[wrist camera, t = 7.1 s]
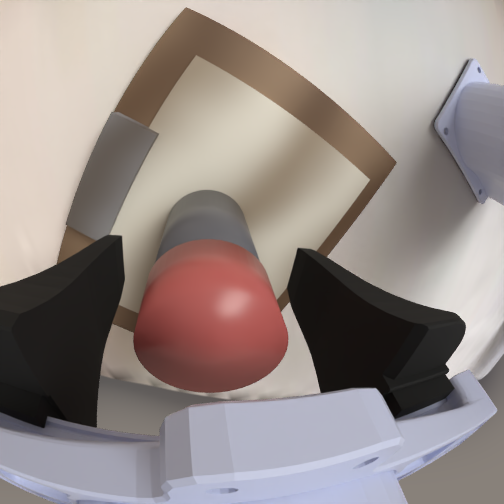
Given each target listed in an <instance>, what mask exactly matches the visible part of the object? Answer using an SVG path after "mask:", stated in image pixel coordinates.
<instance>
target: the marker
mask: <svg viewBox="0 0 504 504" xmlns="http://www.w3.org/2000/svg"><path fill="white" fill-rule="evenodd" d="M133 343H134V349H135V352H136V355H137V357H138V359H139V361H140V362H141V364H142V365H143V366H144V368H145V369H146V370H148V371H149V372H150V373H151V374H152V375H153V376H155V377H156V378H158V379H159V380H161V381H163V382H165V383H167V384H169V385H171V386H174V387H177V388H180V389H184V390H188V391H194V392H205V393H214V392H225V391H231V390H236V389H239V388H243V387H245V386H248V385H251V384H253V383H255V382H257V381H259V380H260V379H262V378H264V377H265V376H267V375H268V374H269V373H271V372H272V371H273V370H274V369H275V368H276V367H277V366H278V364H279V363H280V362H281V360H282V359H283V357H284V355H285V353H286V350H287V346H288V332H287V328H286V325H285V323H284V320H283V317H282V314H281V311H280V308H279V306H278V303H277V300H276V297H275V294H274V291H273V289H272V286H271V283H270V280H269V277H268V275H267V272H266V270H265V268H264V267H263V265H262V263H261V262H260V260H259V257H258V254H257V252H256V249H255V246H254V243H253V240H252V237H251V234H250V231H249V228H248V225H247V222H246V219H245V216H244V214H243V211H242V209H241V208H240V206H239V205H238V204H237V202H236V201H235V200H234V199H232V198H231V197H230V196H228V195H226V194H224V193H222V192H219V191H215V190H199V191H195V192H192V193H190V194H187V195H186V196H184V197H183V198H181V199H180V200H179V201H178V202H177V203H176V204H175V205H174V207H173V208H172V210H171V212H170V214H169V217H168V220H167V223H166V226H165V230H164V233H163V236H162V240H161V243H160V247H159V250H158V254H157V257H156V261H155V264H154V266H153V267H152V269H151V271H150V273H149V276H148V279H147V283H146V287H145V290H144V294H143V298H142V302H141V306H140V310H139V314H138V319H137V323H136V327H135V332H134V340H133Z"/></svg>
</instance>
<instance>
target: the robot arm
mask: <svg viewBox="0 0 504 504" xmlns="http://www.w3.org/2000/svg"><path fill="white" fill-rule="evenodd" d="M434 126H435V129H436V131H437V133H438V134H439V136H440V137H441V138H442V140H443V141H444V143H445V144H446V146H447V148H448V149H449V151H450V152H451V154H452V155H453V157H454V159H455V160H456V162H457V164H458V165H459V167H460V169H461V170H462V172H463V174H464V176H465V177H466V179H467V181H468V183H469V185H470V187H471V188H472V190H473V192H474V194H475V196H476V198H477V200H478V202H479V203H481V204H483V203H484V202H485V201H486V199H487V198H488V197H490V198H492V199H493V200H495V201H497V202H499V203H500V204H502V205H504V85H498V84H492V83H490V82H489V81H488V79H487V77H486V75H485V73H484V71H483V70H482V68H481V66H480V64H479V63H478V61H477V60H476V59H470V60H469V62H468V64H467V66H466V68H465V70H464V71H463V73H462V75H461V77H460V79H459V81H458V82H457V84H456V86H455V88H454V90H453V91H452V93H451V95H450V97H449V98H448V100H447V102H446V104H445V105H444V107H443V109H442V110H441V112H440V114H439V115H438V117H437V119H436V120H435V124H434ZM444 129H445V132H444ZM124 282H125V271H124V259H123V242H122V235H106V236H104V237H102V238H100V239H99V240H97V241H95V242H94V243H92V244H90V245H89V246H87V247H86V248H84V249H82V250H81V251H79V252H78V253H76V254H74V255H72V256H71V257H69V258H67V259H65V260H64V261H62V262H60V263H59V264H57V265H55V266H53V267H51V268H49V269H47V270H44V271H42V272H40V273H38V274H36V275H33V276H30V277H28V278H25V279H23V280H20V281H17V282H14V283H11V284H8V285H4V286H1V287H0V478H2V479H3V480H5V481H7V482H9V483H11V484H13V485H15V486H17V487H19V488H21V489H23V490H26V491H28V492H30V493H32V494H35V495H37V496H39V497H42V498H44V499H47V500H49V501H52V502H55V503H57V504H408V503H407V501H406V499H405V497H404V494H403V492H402V489H401V487H400V485H399V482H398V481H399V480H401V479H403V478H405V477H407V476H408V475H410V474H412V473H414V472H416V471H418V470H419V469H421V468H423V467H425V466H426V465H428V464H430V463H431V462H433V461H435V460H436V459H438V458H440V457H441V456H443V455H444V454H446V453H447V452H449V451H450V450H452V449H453V448H455V447H456V446H458V445H459V444H461V443H462V442H463V441H464V440H466V439H467V438H468V437H469V436H471V435H472V434H473V433H474V432H475V431H476V430H477V429H479V428H480V427H481V426H482V425H483V424H484V423H485V422H486V421H488V419H490V418H491V417H492V416H493V415H494V414H495V413H496V412H497V409H496V407H495V406H494V404H493V403H492V401H491V400H490V398H489V397H488V395H487V394H486V392H485V391H484V389H483V388H482V386H481V385H480V384H479V382H478V381H477V379H476V378H475V377H474V375H473V374H472V372H471V371H470V370H466V371H464V372H461V373H459V374H457V375H455V376H453V377H452V378H451V379H450V380H449V379H448V378H447V376H446V375H445V374H447V373H448V372H449V369H448V367H447V366H446V362H447V361H448V360H449V358H450V357H451V356H452V354H453V353H454V351H455V350H456V349H457V347H458V346H459V344H460V343H461V341H462V339H463V337H464V334H465V330H466V325H465V322H464V321H463V320H462V319H461V318H460V317H459V316H458V315H457V314H455V313H453V312H449V311H444V310H439V309H434V308H430V307H427V306H423V305H420V304H417V303H414V302H411V301H408V300H405V299H403V298H400V297H398V296H395V295H393V294H390V293H388V292H386V291H384V290H382V289H380V288H378V287H375V286H373V285H372V284H370V283H368V282H366V281H364V280H363V279H361V278H359V277H357V276H356V275H354V274H352V273H351V272H349V271H347V270H346V269H344V268H343V267H341V266H340V265H338V264H336V263H335V262H333V261H332V260H330V259H329V258H327V257H325V256H324V255H322V254H320V253H319V252H317V251H315V250H313V249H307V248H297V252H296V256H295V260H294V263H293V267H292V271H291V274H290V278H289V282H288V285H287V290H288V295H289V299H290V303H291V307H292V309H293V312H294V314H295V316H296V319H297V321H298V324H299V326H300V328H301V331H302V333H303V335H304V338H305V340H306V342H307V345H308V347H309V350H310V353H311V356H312V359H313V363H314V367H315V370H316V374H317V378H318V383H319V387H320V392H321V393H319V394H312V395H305V396H296V397H287V398H276V399H262V400H244V401H220V402H213V403H205V404H195V405H190V406H188V407H186V408H183V409H181V410H179V411H176V412H174V413H171V414H170V415H168V416H167V417H165V419H164V421H163V423H162V425H161V428H160V436H151V435H142V434H133V433H124V432H118V431H112V430H106V429H100V428H97V400H98V388H99V379H100V371H101V364H102V358H103V353H104V348H105V344H106V340H107V337H108V334H109V331H110V328H111V325H112V322H113V320H114V317H115V314H116V311H117V308H118V305H119V303H120V300H121V296H122V291H123V287H124Z"/></svg>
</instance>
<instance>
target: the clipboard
mask: <svg viewBox="0 0 504 504" xmlns="http://www.w3.org/2000/svg"><path fill="white" fill-rule="evenodd" d="M396 163H397V162H396V161H395V160H394V159H393V158H392V157H391V156H390V155H389V154H388V152H387V151H386V150H385V149H384V148H383V147H382V146H381V145H380V144H379V143H378V142H377V141H376V140H375V139H374V138H373V137H372V136H371V135H370V134H369V133H368V132H367V131H366V130H365V129H364V128H363V127H362V126H361V125H360V124H359V123H357V122H356V121H355V120H354V119H353V118H352V117H351V116H350V115H349V114H348V113H347V112H345V111H344V110H343V109H342V108H341V107H340V106H339V105H337V104H336V103H335V102H334V101H333V100H332V99H330V98H329V97H328V96H327V95H326V94H324V93H323V92H322V91H321V90H320V89H318V88H317V87H316V86H314V85H313V84H312V83H311V82H309V81H308V80H307V79H305V78H304V77H303V76H301V75H300V74H299V73H297V72H296V71H295V70H293V69H292V68H291V67H289V66H288V65H286V64H285V63H283V62H282V61H281V60H279V59H278V58H276V57H275V56H273V55H272V54H270V53H269V52H267V51H266V50H264V49H263V48H261V47H259V46H258V45H256V44H255V43H253V42H251V41H250V40H248V39H246V38H245V37H243V36H241V35H239V34H238V33H236V32H234V31H232V30H231V29H229V28H227V27H225V26H223V25H221V24H220V23H218V22H216V21H214V20H212V19H210V18H208V17H206V16H204V15H202V14H200V13H197V12H195V11H193V10H191V9H189V8H187V7H186V8H185V9H184V10H183V11H182V12H181V13H180V15H179V16H178V17H177V18H176V19H175V21H174V22H173V23H172V24H171V26H170V27H169V28H168V29H167V31H166V32H165V33H164V35H163V36H162V37H161V39H160V40H159V41H158V43H157V44H156V45H155V47H154V48H153V50H152V51H151V52H150V54H149V55H148V57H147V58H146V60H145V61H144V63H143V64H142V66H141V67H140V69H139V70H138V72H137V73H136V75H135V76H134V78H133V80H132V81H131V83H130V85H129V86H128V88H127V90H126V91H125V93H124V95H123V96H122V98H121V100H120V102H119V103H118V105H117V107H116V109H115V111H114V112H112V113H111V114H110V116H109V118H108V120H107V122H106V124H105V126H104V128H103V130H102V132H101V134H100V136H99V139H98V141H97V143H96V145H95V147H94V149H93V152H92V154H91V156H90V159H89V161H88V163H87V166H86V168H85V171H84V173H83V176H82V178H81V181H80V183H79V186H78V189H77V192H76V194H75V197H74V200H73V203H72V206H71V209H70V212H69V215H68V218H67V222H66V225H67V227H66V231H65V234H64V238H63V241H62V245H61V249H60V253H59V257H58V261H57V264H59V263H60V262H62V261H64V260H65V259H67V258H69V257H71V256H72V255H74V254H76V253H78V252H79V251H81V250H82V249H84V248H86V247H87V246H89V245H90V244H92V243H94V242H95V241H97V240H99V239H100V238H102V237H104V236H106V235H122V242H123V259H124V271H125V282H124V287H123V291H122V296H121V300H120V303H119V305H118V308H117V311H116V314H115V317H114V320H113V322H112V323H113V324H115V325H117V326H119V327H122V328H124V329H126V330H129V331H131V332H135V327H136V323H137V319H138V314H139V310H140V306H141V302H142V298H143V294H144V290H145V287H146V283H147V279H148V276H149V273H150V271H151V269H152V267H153V266H154V264H155V261H156V257H157V254H158V250H159V247H160V243H161V240H162V236H163V233H164V230H165V226H166V223H167V220H168V217H169V214H170V212H171V210H172V208H173V207H174V205H175V204H176V203H177V202H178V201H179V200H180V199H181V198H183V197H184V196H186V195H187V194H190V193H192V192H195V191H199V190H215V191H219V192H222V193H224V194H226V195H228V196H230V197H231V198H232V199H234V200H235V201H236V202H237V204H238V205H239V206H240V208H241V209H242V211H243V214H244V216H245V219H246V222H247V225H248V228H249V231H250V234H251V237H252V240H253V243H254V246H255V249H256V252H257V254H258V257H259V260H260V262H261V263H262V265H263V267H264V268H265V270H266V272H267V275H268V277H269V280H270V283H271V286H272V289H273V291H274V294H275V297H276V300H277V303H278V306H279V308H280V311H282V310H283V309H284V307H285V306H286V305H287V304H288V303H289V302H290V299H289V295H288V290H287V285H288V282H289V278H290V274H291V271H292V267H293V263H294V260H295V256H296V252H297V248H307V249H313V250H315V251H317V252H319V253H320V254H322V255H324V256H325V257H327V256H328V255H329V253H330V252H331V251H332V250H333V248H334V247H335V246H336V244H337V243H338V242H339V241H340V239H341V238H342V237H343V236H344V234H345V233H346V232H347V230H348V229H349V228H350V226H351V225H352V224H353V222H354V221H355V220H356V219H357V217H358V216H359V215H360V213H361V212H362V211H363V209H364V208H365V207H366V205H367V204H368V202H369V201H370V200H371V198H372V197H373V196H374V194H375V193H376V192H377V190H378V189H379V187H380V186H381V185H382V183H383V182H384V180H385V179H386V178H387V176H388V175H389V173H390V172H391V170H392V169H393V168H394V166H395V165H396Z"/></svg>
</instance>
